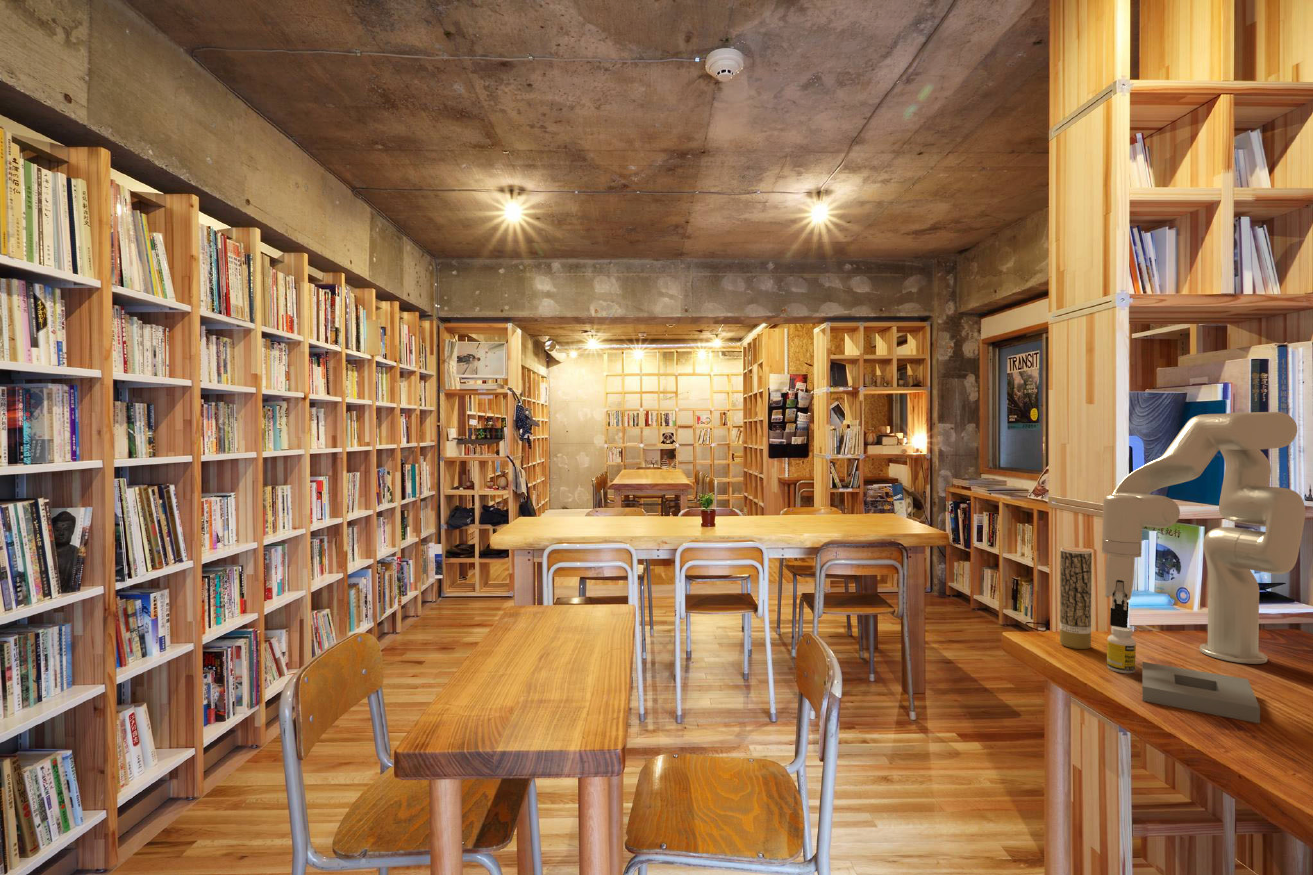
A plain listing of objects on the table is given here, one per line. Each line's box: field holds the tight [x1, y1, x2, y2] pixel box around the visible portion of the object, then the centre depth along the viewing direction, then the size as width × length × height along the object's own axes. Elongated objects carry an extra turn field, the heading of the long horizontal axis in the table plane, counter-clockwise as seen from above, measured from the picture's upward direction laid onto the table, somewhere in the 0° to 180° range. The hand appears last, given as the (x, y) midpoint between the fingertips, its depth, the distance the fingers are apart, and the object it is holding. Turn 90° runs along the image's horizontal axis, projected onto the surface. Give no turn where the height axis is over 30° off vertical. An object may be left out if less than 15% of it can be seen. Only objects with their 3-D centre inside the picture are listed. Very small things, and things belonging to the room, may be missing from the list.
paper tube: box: [1059, 546, 1093, 650], centre depth 172 cm, size 7×7×25 cm
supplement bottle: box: [1106, 626, 1137, 675], centre depth 155 cm, size 5×5×10 cm
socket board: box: [1141, 661, 1261, 724], centre depth 139 cm, size 18×18×3 cm
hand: (1119, 622), depth 154 cm, fingers open, 9 cm apart
